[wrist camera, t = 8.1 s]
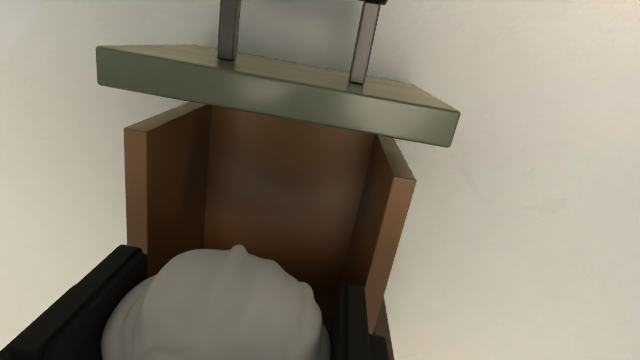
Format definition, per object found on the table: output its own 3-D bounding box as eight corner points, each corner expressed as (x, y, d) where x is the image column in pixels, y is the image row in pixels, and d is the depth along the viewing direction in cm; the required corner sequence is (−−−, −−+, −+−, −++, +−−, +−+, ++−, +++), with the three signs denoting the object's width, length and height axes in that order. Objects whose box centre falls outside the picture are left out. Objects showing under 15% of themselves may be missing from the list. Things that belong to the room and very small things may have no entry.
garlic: (373, 282, 11) (398, 464, 6) (283, 385, 13) (248, 589, 8) (204, 180, 10) (81, 300, 5) (131, 304, 12) (-11, 480, 7)
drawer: (196, -52, 17) (84, -124, 9) (437, -7, 17) (511, -45, 10) (184, 266, 23) (112, 369, 16) (359, 296, 23) (367, 413, 16)
